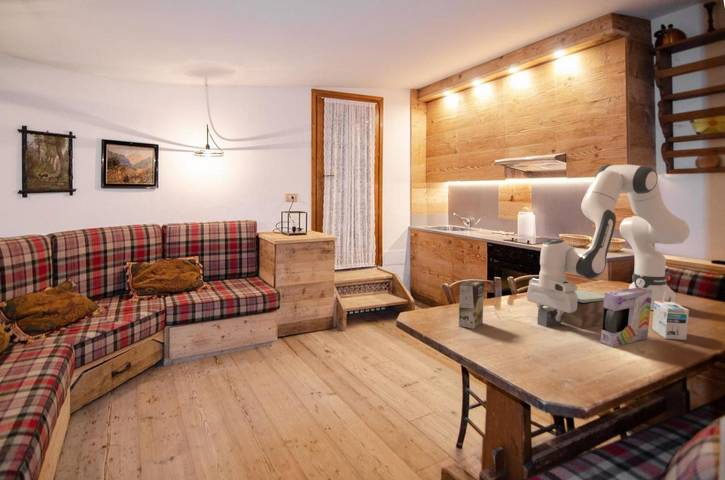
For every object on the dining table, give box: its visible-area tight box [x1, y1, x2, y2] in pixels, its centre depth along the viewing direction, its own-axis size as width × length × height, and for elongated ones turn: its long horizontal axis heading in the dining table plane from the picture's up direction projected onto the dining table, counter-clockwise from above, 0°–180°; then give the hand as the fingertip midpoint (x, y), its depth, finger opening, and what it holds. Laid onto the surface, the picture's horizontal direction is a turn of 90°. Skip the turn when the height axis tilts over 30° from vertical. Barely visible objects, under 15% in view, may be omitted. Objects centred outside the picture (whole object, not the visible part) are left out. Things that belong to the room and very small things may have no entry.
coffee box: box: [458, 280, 485, 330], centre depth 162 cm, size 9×6×16 cm
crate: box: [561, 300, 604, 329], centre depth 167 cm, size 16×12×9 cm
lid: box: [574, 289, 604, 303], centre depth 166 cm, size 16×12×2 cm
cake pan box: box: [600, 287, 652, 348], centre depth 144 cm, size 19×5×18 cm, turn 114°
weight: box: [537, 306, 562, 328], centre depth 163 cm, size 8×4×6 cm, turn 116°
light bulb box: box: [651, 301, 690, 341], centre depth 152 cm, size 11×7×11 cm, turn 168°
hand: (549, 318), depth 164 cm, fingers open, 5 cm apart
